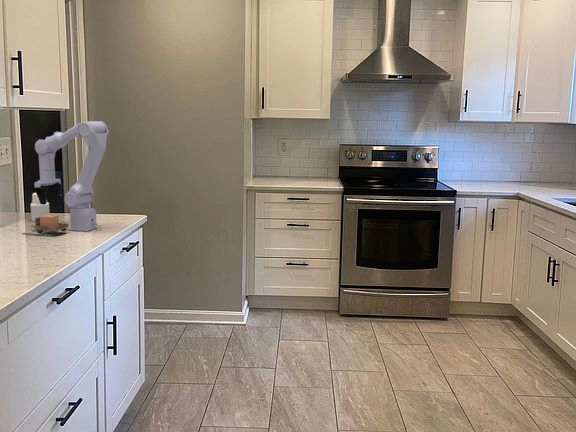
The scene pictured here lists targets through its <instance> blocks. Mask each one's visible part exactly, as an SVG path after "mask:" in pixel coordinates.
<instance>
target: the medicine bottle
mask: <svg viewBox="0 0 576 432" xmlns="http://www.w3.org/2000/svg"><path fill="white" fill-rule="evenodd" d="M29 208H30V221H31V222H35V218H38V217H40V216H44V215H51V213H50V202H48V200H47V201H46V204H45V205H43V204H40V201H39V198H38V196H37V194H36V192H32V193H31V202H30V205H29Z"/></svg>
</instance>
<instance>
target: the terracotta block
mask: <svg viewBox="0 0 576 432" xmlns="http://www.w3.org/2000/svg"><path fill="white" fill-rule="evenodd" d="M59 218H60V217H59V215H57V214H56V215H55V214H50V215H44V216H40V226H50V227H56V226H59V223H60V222H59V221H60V219H59Z"/></svg>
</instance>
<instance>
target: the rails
mask: <svg viewBox="0 0 576 432" xmlns="http://www.w3.org/2000/svg"><path fill="white" fill-rule="evenodd" d="M31 232H35V233H31ZM31 232H30V233H29V232H22V233H21V234H22V235H23V236H26V235H27V236H28V235H29V236H39V237H40V236H42V237H54V236H55V234H54V235H53V234H52V233H51V231H43V232H42V233H40V234H39V233H37V230H35V229H33V230H31ZM47 233H48V234H47ZM49 233H51V234H49ZM63 233H64V231H60V230H59V231H57V233H56V234H63Z"/></svg>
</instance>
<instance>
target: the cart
mask: <svg viewBox="0 0 576 432" xmlns="http://www.w3.org/2000/svg"><path fill="white" fill-rule="evenodd" d="M34 222H35V223H34V224H35V225H34V230H37V232H36V234H43V233H44V232H43V231H51V235H54V236H55V235H56V234H58V233H57V231H59V232H65V231H67V230H66V229H67V228H69V223H68V222H67V223H65V222H59V226H56V227H50V226H40V217H38V218H35V221H34Z"/></svg>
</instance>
